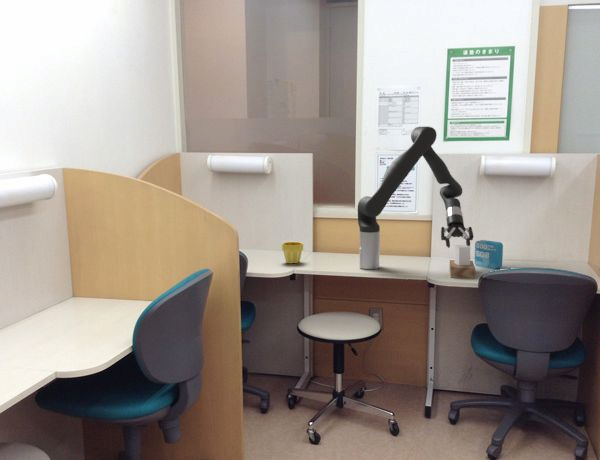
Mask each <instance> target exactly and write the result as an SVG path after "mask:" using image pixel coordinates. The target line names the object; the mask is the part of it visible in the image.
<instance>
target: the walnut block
mask: <svg viewBox="0 0 600 460" xmlns="http://www.w3.org/2000/svg"><path fill="white" fill-rule="evenodd" d="M475 266H476V265H475V263H474V261H473V260H470V265H457V264H455V263H454V259H449V276H451V277H450V278H451V279H470V280H471V279H472V280H473V279H476V267H475Z"/></svg>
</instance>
